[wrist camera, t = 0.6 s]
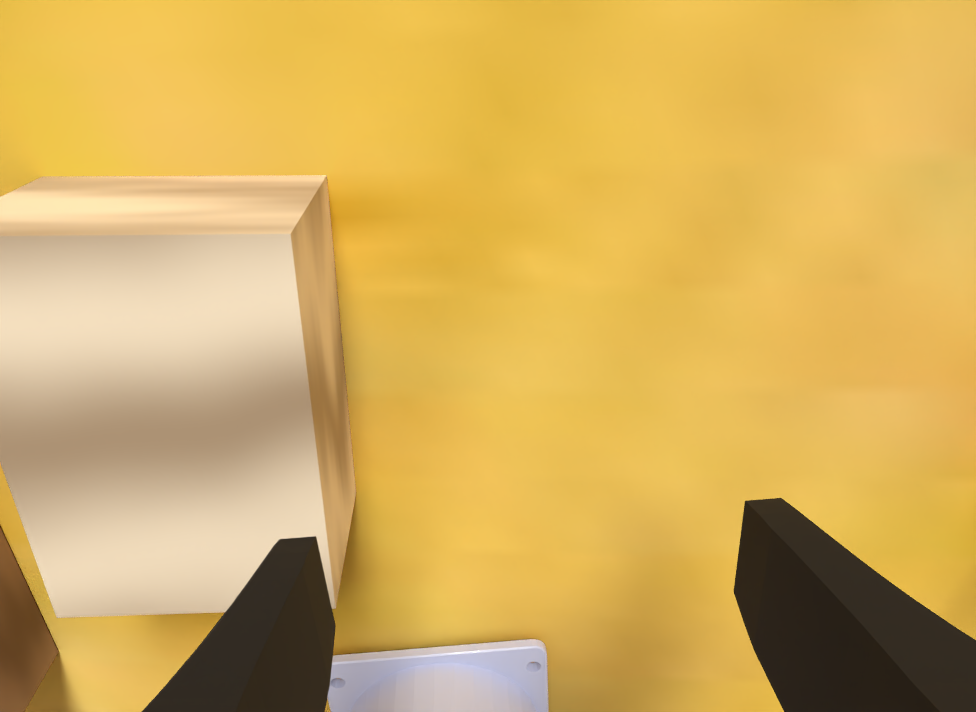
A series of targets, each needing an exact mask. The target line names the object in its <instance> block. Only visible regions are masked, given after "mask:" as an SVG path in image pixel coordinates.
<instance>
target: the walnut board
mask: <svg viewBox="0 0 976 712" xmlns="http://www.w3.org/2000/svg"><path fill="white" fill-rule="evenodd" d="M57 654H58V650H57V648H56V646H55V643H54V641H53V639H52V637H51V635H50V633H49V631H48V628H47V626H46V624H45V622H44V620H43V618H42V616H41V613H40V611H39V609H38V607H37V605H36V603H35V601H34V598H33V596H32V594H31V592H30V590H29V588H28V585H27V583H26V581H25V579H24V577H23V575H22V573H21V570H20V568H19V566H18V564H17V562H16V560H15V558H14V555H13V553H12V551H11V549H10V547H9V545H8V543H7V540H6V538H5V536H4V534H3V532H2V530H1V527H0V712H24V711H25V709H26V707H27V706H28V704H29V702H30V700H31V699H32V697H33V695H34V694H35V692H36V690H37V688H38V687H39V685H40V683H41V681H42V680H43V678H44V676H45V675H46V673H47V671H48V669H49V668H50V666H51V664H52V662H53V661H54V659H55V657H56V656H57Z"/></svg>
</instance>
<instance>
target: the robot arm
mask: <svg viewBox="0 0 976 712" xmlns="http://www.w3.org/2000/svg"><path fill="white" fill-rule="evenodd" d="M734 594H735V597H736V600H737V603H738V606H739V609H740V612H741V615H742V618H743V621H744V624H745V627H746V629H747V632H748V635H749V638H750V640H751V643H752V646H753V648H754V651H755V653H756V655H757V657H758V659H759V661H760V663H761V665H762V667H763V669H764V671H765V673H766V676H767V678H768V680H769V682H770V684H771V686H772V688H773V690H774V692H775V694H776V696H777V698H778V700H779V702H780V704H781V706H782V708H783V710H784V712H976V640H975V639H973V638H971V637H970V636H968V635H967V634H965V633H963V632H962V631H960V630H959V629H957V628H956V627H954V626H953V625H951V624H950V623H948V622H947V621H945V620H944V619H942V618H941V617H939V616H938V615H936V614H935V613H933V612H932V611H930V610H929V609H928V608H926V607H925V606H923V605H922V604H920V603H919V602H917V601H916V600H914V599H913V598H912V597H910V596H909V595H907V594H906V593H905V592H903V591H902V590H900V589H899V588H898V587H896V586H895V585H893V584H892V583H891V582H889V581H888V580H887V579H885V578H884V577H883V576H881V575H880V574H878V573H877V572H876V571H874V570H873V569H872V568H871V567H869V566H868V565H867V564H865V563H864V562H863V561H861V560H860V559H859V558H857V557H856V556H855V555H853V554H852V553H851V552H850V551H848V550H847V549H846V548H844V547H843V546H842V545H841V544H839V543H838V542H837V541H836V540H834V539H833V538H832V537H830V536H829V535H828V534H827V533H825V532H824V531H823V530H822V529H820V528H819V527H818V526H817V525H815V524H814V523H813V522H812V521H810V520H809V519H808V518H806V517H805V516H804V515H803V514H801V513H800V512H799V511H798V510H796V509H795V508H794V507H792V506H791V505H790V504H788V503H787V502H786V501H784V500H783V499H782V498H775V499H763V500H751V501H745V506H744V514H743V522H742V530H741V538H740V546H739V554H738V562H737V570H736V578H735V586H734ZM334 636H335V621H334V617H333V612H332V607H331V603H330V598H329V593H328V589H327V584H326V579H325V575H324V570H323V566H322V561H321V556H320V552H319V547H318V542H317V538H316V536H312V537H300V538H288V539H279V540H278V541H277V543H276V544H275V545H274V546H273V547H272V549H271V550H270V552H269V553H268V554H267V556H266V557H265V559H264V560H263V561H262V563H261V564H260V566H259V567H258V568H257V570H256V571H255V573H254V574H253V576H252V577H251V578H250V580H249V581H248V582H247V584H246V585H245V587H244V588H243V589H242V591H241V592H240V593H239V595H238V596H237V597H236V599H235V600H234V602H233V603H232V604H231V606H230V607H229V608H228V609H227V611H226V612H225V613H224V615H223V616H222V617H221V619H220V620H219V621H218V622H217V624H216V625H215V626H214V628H213V629H212V630H211V631H210V633H209V634H208V635H207V637H206V638H205V639H204V640H203V642H202V643H201V644H200V645H199V647H198V648H197V649H196V650H195V651H194V653H193V654H192V655H191V656H190V657H189V659H188V660H187V661H186V662H185V663H184V664H183V666H182V667H181V668H180V669H179V670H178V671H177V673H176V674H175V675H174V676H173V677H172V678H171V680H170V681H169V682H168V683H167V684H166V686H165V687H164V688H163V689H162V690H161V691H160V692H159V693H158V695H157V696H156V697H155V698H154V699H153V700H152V701H151V702H150V703H149V704H148V706H147V707H146V708H145V709H144V710H143V711H142V712H324V711H325V706H326V701H327V698H328V702H329V706H330V711H331V712H549V709H548V674H547V652H546V647H545V644H544V643H543V642H542V641H540V640H537V639H526V640H514V641H502V642H490V643H478V644H466V645H454V646H441V647H429V648H417V649H405V650H393V651H381V652H369V653H357V654H345V655H334V656H333V647H334ZM530 662H534V663H530ZM337 678H341V679H337Z"/></svg>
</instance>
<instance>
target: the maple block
mask: <svg viewBox="0 0 976 712" xmlns="http://www.w3.org/2000/svg"><path fill="white" fill-rule="evenodd" d="M0 463H1V466H2V469H3V471H4V474H5V477H6V480H7V482H8V485H9V488H10V491H11V493H12V496H13V499H14V502H15V504H16V507H17V510H18V513H19V516H20V518H21V521H22V524H23V527H24V529H25V532H26V535H27V538H28V540H29V543H30V546H31V549H32V551H33V554H34V557H35V560H36V562H37V565H38V568H39V571H40V573H41V576H42V579H43V582H44V584H45V587H46V590H47V593H48V595H49V598H50V601H51V604H52V606H53V609H54V612H55V615H56V617H57V618H64V617H94V616H125V615H156V614H187V613H218V612H226V611H227V609H228V608H229V607H230V606H231V604H232V603H233V602H234V600H235V599H236V597H237V596H238V595H239V593H240V592H241V591H242V589H243V588H244V587H245V585H246V584H247V582H248V581H249V580H250V578H251V577H252V576H253V574H254V573H255V571H256V570H257V568H258V567H259V566H260V564H261V563H262V561H263V560H264V559H265V557H266V556H267V554H268V553H269V552H270V550H271V549H272V547H273V546H274V545H275V544H276V543H277V541H278V540H279V539H288V538H300V537H312V536H316V538H317V542H318V547H319V552H320V556H321V561H322V566H323V570H324V575H325V579H326V584H327V589H328V593H329V598H330V603H331V607H332V609H336V604H337V599H338V593H339V587H340V582H341V576H342V570H343V565H344V559H345V553H346V548H347V542H348V536H349V531H350V525H351V520H352V514H353V508H354V503H355V497H356V486H355V475H354V464H353V453H352V443H351V432H350V421H349V410H348V399H347V389H346V378H345V367H344V356H343V346H342V335H341V324H340V313H339V303H338V292H337V281H336V270H335V260H334V249H333V238H332V227H331V216H330V206H329V195H328V184H327V175H297V176H78V177H41V178H39V179H36V180H34V181H32V182H30V183H28V184H26V185H24V186H22V187H20V188H18V189H16V190H14V191H12V192H10V193H8V194H5V195H3V196H1V197H0Z"/></svg>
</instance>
